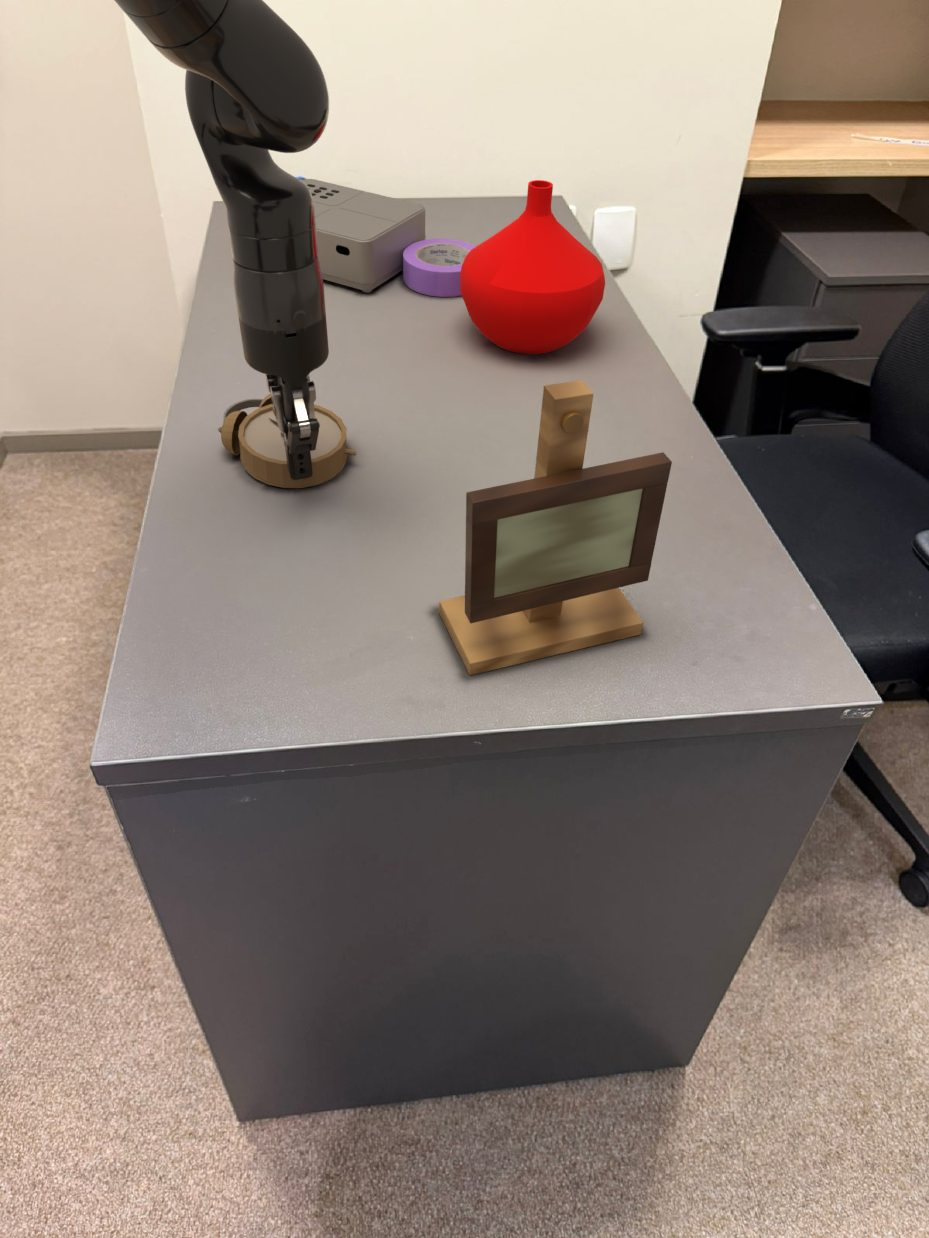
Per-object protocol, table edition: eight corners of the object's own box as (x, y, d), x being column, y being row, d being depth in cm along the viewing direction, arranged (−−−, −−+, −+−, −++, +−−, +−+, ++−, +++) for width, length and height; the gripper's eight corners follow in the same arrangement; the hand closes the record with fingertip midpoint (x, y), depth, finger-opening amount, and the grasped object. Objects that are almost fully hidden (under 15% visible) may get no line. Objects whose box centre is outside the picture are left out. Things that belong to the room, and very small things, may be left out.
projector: (311, 227, 144) (306, 175, 138) (429, 258, 137) (429, 204, 131) (244, 262, 133) (237, 208, 128) (368, 297, 126) (366, 241, 120)
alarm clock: (292, 480, 88) (192, 404, 93) (290, 516, 92) (194, 441, 97) (371, 435, 95) (273, 365, 100) (367, 470, 99) (273, 401, 103)
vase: (563, 300, 127) (579, 155, 114) (620, 360, 115) (646, 205, 102) (440, 315, 123) (442, 165, 109) (486, 379, 110) (494, 219, 97)
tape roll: (491, 295, 128) (492, 268, 125) (410, 299, 126) (410, 272, 123) (473, 262, 136) (474, 236, 133) (397, 266, 134) (397, 240, 131)
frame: (470, 623, 72) (472, 503, 63) (464, 612, 73) (466, 492, 64) (648, 580, 76) (672, 461, 67) (640, 570, 77) (663, 451, 68)
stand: (469, 676, 74) (482, 436, 58) (438, 613, 80) (443, 378, 64) (640, 634, 78) (696, 401, 63) (601, 577, 84) (642, 348, 68)
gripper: (226, 282, 81) (251, 446, 93) (251, 348, 72) (275, 520, 84) (308, 273, 83) (322, 435, 95) (342, 336, 74) (353, 506, 86)
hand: (300, 475), depth 90 cm, fingers closed
